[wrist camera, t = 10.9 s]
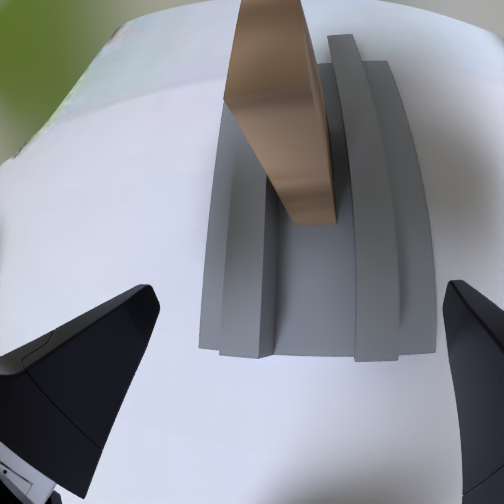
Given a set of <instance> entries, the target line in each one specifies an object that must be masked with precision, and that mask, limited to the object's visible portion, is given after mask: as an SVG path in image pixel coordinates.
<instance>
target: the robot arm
mask: <svg viewBox="0 0 504 504" xmlns="http://www.w3.org/2000/svg"><path fill="white" fill-rule="evenodd" d="M159 312H160V304H159V301H158V299H157V297H156V294H155V292H154V290H153V287H152V286H151V285H148V284H140V285H137V286H135V287H133V288H131V289H129V290H127V291H126V292H124V293H122V294H120V295H118V296H116V297H114V298H112V299H110V300H108V301H106V302H105V303H103V304H101V305H99V306H97V307H95V308H93V309H91V310H89V311H88V312H86V313H84V314H82V315H80V316H78V317H76V318H75V319H73V320H71V321H69V322H67V323H65V324H63V325H62V326H60V327H58V328H56V329H55V330H52V331H50V332H49V333H47V334H45V335H43V336H41V337H39V338H37V339H35V340H33V341H31V342H29V343H27V344H25V345H23V346H21V347H19V348H17V349H15V350H13V351H11V352H9V353H7V354H5V355H3V356H0V504H62V501H61V496H60V494H59V493H58V492H56V491H55V490H54V488H55V486H56V485H57V484H58V485H60V486H61V487H63V488H65V489H66V490H68V491H70V492H71V493H73V494H75V495H77V496H78V497H80V498H82V499H84V498H85V497H86V495H87V492H88V489H89V486H90V483H91V481H92V478H93V475H94V473H95V470H96V467H97V465H98V462H99V459H100V457H101V454H102V452H103V449H104V446H105V444H106V441H107V439H108V436H109V434H110V431H111V429H112V426H113V424H114V421H115V419H116V417H117V414H118V412H119V409H120V407H121V405H122V402H123V400H124V398H125V395H126V393H127V391H128V389H129V386H130V384H131V382H132V379H133V377H134V375H135V373H136V370H137V368H138V366H139V364H140V362H141V359H142V357H143V355H144V353H145V351H146V348H147V346H148V343H149V340H150V337H151V334H152V331H153V329H154V326H155V323H156V320H157V317H158V315H159ZM443 318H444V324H445V332H446V340H447V349H448V357H449V363H450V369H451V374H452V379H453V385H454V391H455V397H456V404H457V411H458V419H459V428H460V439H461V452H462V475H463V495H464V496H463V497H462V504H504V311H503V310H502V309H501V308H499V307H498V306H497V305H495V304H494V303H493V302H492V301H490V300H489V299H488V298H486V297H485V296H484V295H482V294H481V293H480V292H478V291H477V290H476V289H474V288H473V287H471V286H470V285H469V284H467V283H466V282H465V281H463V280H450V281H449V282H448V284H447V288H446V293H445V298H444V302H443Z"/></svg>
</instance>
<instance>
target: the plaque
mask: <svg viewBox="0 0 504 504" xmlns="http://www.w3.org/2000/svg"><path fill="white" fill-rule="evenodd" d="M223 100H224V101H225V103H226V105H227V106H228V108H229V110H230V111H231V113H232V115H233V116H234V118H235V120H236V121H237V123H238V125H239V127H240V128H241V130H242V132H243V133H244V135H245V137H246V138H247V140H248V142H249V144H250V145H251V147H252V149H253V151H254V152H255V154H256V156H257V158H258V159H259V161H260V163H261V165H262V166H263V168H264V170H265V172H266V174H267V175H268V177H269V179H270V181H271V183H272V184H273V186H274V188H275V190H276V192H277V193H278V195H279V197H280V199H281V201H282V203H283V205H284V206H285V208H286V210H287V212H288V214H289V216H290V218H291V219H292V221H293V223H294V225H295V226H306V225H328V224H337V223H336V202H335V186H334V172H333V160H332V149H331V139H330V129H329V123H328V118H327V112H326V107H325V101H324V96H323V91H322V86H321V81H320V77H319V72H318V67H317V63H316V59H315V54H314V50H313V46H312V42H311V38H310V34H309V30H308V26H307V23H306V19H305V15H304V12H303V8H302V5H301V1H300V0H241V5H240V9H239V14H238V19H237V24H236V30H235V35H234V40H233V46H232V51H231V57H230V62H229V68H228V74H227V80H226V86H225V92H224V98H223Z"/></svg>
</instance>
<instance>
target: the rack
mask: <svg viewBox="0 0 504 504" xmlns="http://www.w3.org/2000/svg"><path fill="white" fill-rule="evenodd" d="M327 38H328V43H329V48H330V54H331V59H332V63H325V64H317V67H318V72H319V77H320V81H321V86H322V91H323V96H324V101H325V107H326V112H327V118H328V123H329V129H330V139H331V149H332V160H333V172H334V186H335V202H336V223H337V224H328V225H306V226H295V225H294V223H293V221H292V219H291V218H290V216H289V214H288V212H287V210H286V208H285V206H284V205H283V203H282V201H281V199H280V197H279V195H278V193H277V192H276V190H275V188H274V186H273V184H272V183H271V181H270V179H269V177H268V175H267V174H266V172H265V170H264V168H263V166H262V165H261V163H260V161H259V159H258V158H257V156H256V154H255V152H254V151H253V149H252V147H251V145H250V144H249V142H248V140H247V138H246V137H245V135H244V133H243V132H242V130H241V128H240V127H239V125H238V123H237V121H236V120H235V118H234V116H233V115H232V113H231V111H230V110H229V108H228V106H227V105H226V103H225V101H224V104H223V111H222V118H221V124H220V132H219V139H218V146H217V154H216V162H215V170H214V178H213V186H212V195H211V204H210V213H209V222H208V232H207V243H206V253H205V264H204V276H203V289H202V302H201V316H200V332H199V348H202V349H211V350H219V355H222V356H232V357H243V358H255V359H259V358H263V357H267V356H270V355H291V356H327V357H354V359H355V362H371V361H397V360H398V355H410V354H425V353H435V351H436V291H435V273H434V260H433V249H432V240H431V231H430V224H429V217H428V210H427V204H426V198H425V192H424V187H423V182H422V177H421V172H420V167H419V163H418V159H417V154H416V150H415V146H414V142H413V138H412V135H411V131H410V127H409V124H408V120H407V117H406V114H405V110H404V107H403V104H402V101H401V98H400V95H399V92H398V89H397V86H396V83H395V81H394V78H393V75H392V72H391V70H390V67H389V65H388V62H387V61H361V58H360V55H359V52H358V49H357V46H356V43H355V40H354V37H353V34H346V35H331V36H327Z"/></svg>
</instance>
